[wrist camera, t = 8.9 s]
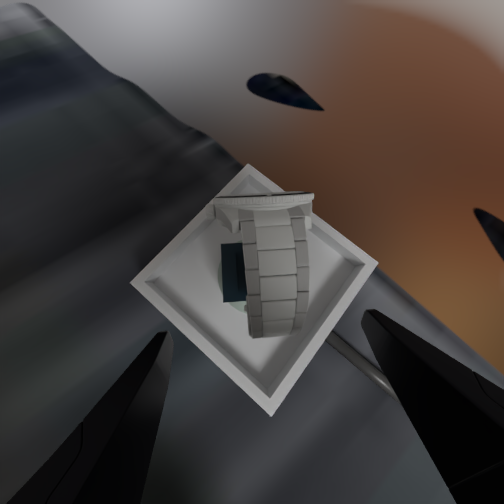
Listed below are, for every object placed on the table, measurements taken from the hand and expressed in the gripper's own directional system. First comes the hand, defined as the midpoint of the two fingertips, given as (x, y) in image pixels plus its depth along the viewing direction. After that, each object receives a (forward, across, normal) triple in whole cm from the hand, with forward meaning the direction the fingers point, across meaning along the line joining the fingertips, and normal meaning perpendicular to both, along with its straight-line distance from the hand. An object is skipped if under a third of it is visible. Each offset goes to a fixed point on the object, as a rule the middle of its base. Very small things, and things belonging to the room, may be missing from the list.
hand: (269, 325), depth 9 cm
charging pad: (+6, -4, +7) cm, 10 cm away
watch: (+8, 0, +3) cm, 9 cm away
